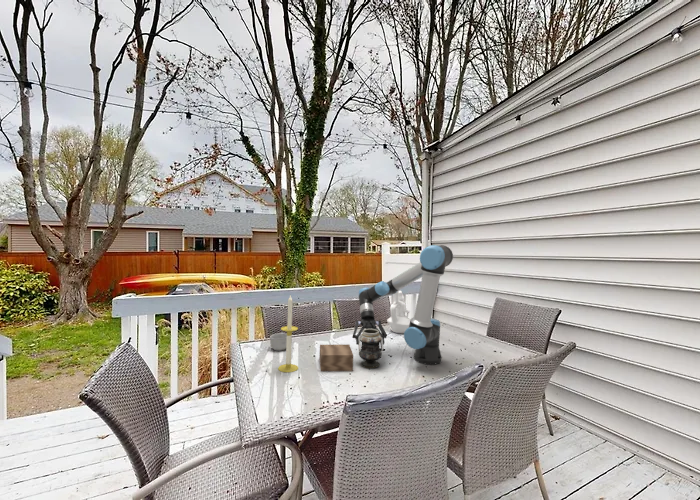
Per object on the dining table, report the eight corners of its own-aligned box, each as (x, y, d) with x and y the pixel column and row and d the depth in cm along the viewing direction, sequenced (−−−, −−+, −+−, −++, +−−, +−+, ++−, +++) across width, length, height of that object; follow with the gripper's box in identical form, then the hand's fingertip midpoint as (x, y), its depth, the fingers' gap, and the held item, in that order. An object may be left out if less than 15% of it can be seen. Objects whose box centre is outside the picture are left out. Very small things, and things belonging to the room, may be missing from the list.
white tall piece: (416, 332, 245) (419, 287, 244) (398, 338, 230) (400, 290, 228) (396, 326, 258) (398, 284, 256) (377, 332, 242) (379, 286, 241)
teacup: (284, 353, 194) (284, 339, 194) (266, 351, 196) (266, 337, 196) (293, 345, 208) (293, 332, 207) (276, 343, 210) (276, 330, 209)
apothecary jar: (386, 363, 183) (386, 330, 181) (372, 371, 174) (372, 336, 172) (368, 358, 190) (368, 326, 189) (354, 364, 181) (354, 331, 180)
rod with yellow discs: (289, 374, 166) (291, 296, 164) (273, 369, 171) (275, 294, 169) (302, 367, 175) (304, 294, 173) (287, 363, 180) (289, 291, 178)
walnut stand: (348, 358, 189) (349, 344, 189) (352, 370, 173) (353, 355, 173) (319, 359, 187) (319, 344, 187) (320, 371, 171) (321, 355, 171)
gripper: (386, 316, 198) (391, 353, 184) (345, 316, 195) (347, 353, 181) (389, 309, 193) (394, 346, 178) (347, 309, 189) (349, 346, 175)
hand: (371, 350), depth 179 cm, fingers closed on apothecary jar, 11 cm apart
